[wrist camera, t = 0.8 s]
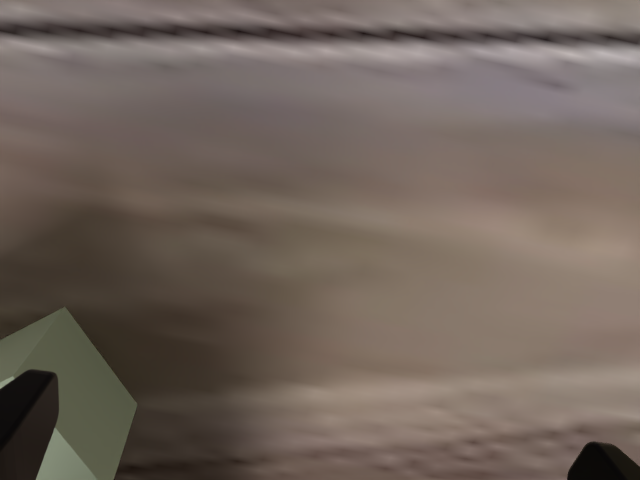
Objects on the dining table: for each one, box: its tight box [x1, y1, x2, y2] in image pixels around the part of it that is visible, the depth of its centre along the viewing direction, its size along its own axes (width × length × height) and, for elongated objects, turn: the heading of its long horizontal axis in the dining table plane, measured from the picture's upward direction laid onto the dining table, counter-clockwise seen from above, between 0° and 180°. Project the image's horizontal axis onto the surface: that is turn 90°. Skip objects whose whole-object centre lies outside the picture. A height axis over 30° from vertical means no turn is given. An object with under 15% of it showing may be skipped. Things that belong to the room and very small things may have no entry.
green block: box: [0, 307, 138, 480], centre depth 19 cm, size 5×5×5 cm
